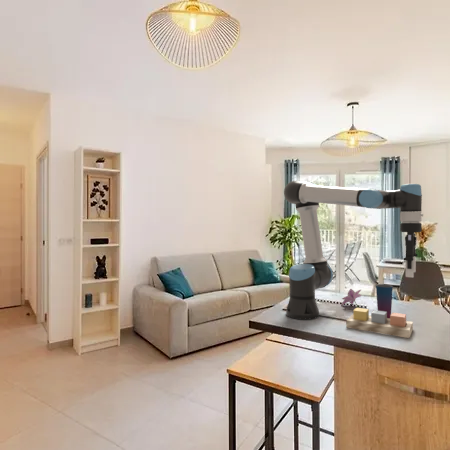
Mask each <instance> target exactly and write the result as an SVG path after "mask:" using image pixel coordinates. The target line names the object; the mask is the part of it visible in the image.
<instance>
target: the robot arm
mask: <svg viewBox="0 0 450 450" xmlns="http://www.w3.org/2000/svg"><path fill="white" fill-rule="evenodd" d="M399 187H400V188H399V189H395V190H381V189H376V188H361V187H359V188H358V187H342V186H327V185H325V186H324V185H317V184H316V183H314V182H312V181H303V180H302V181H301V180H292V181H289V182H288V183H287V184H286V185H285V187H284V190H283V194H284V195H283V196H284V198H285V200H286V201H287V203H290V204H293V205H295V210H296V211H297V212H298V213H299V220H300V226H301V233H302V241H303V248H304V255H305V260H304V261H303V262H302V263H300V264H294V265H292V266H291V267H290V268H289V272H288V273H289V274H288V277H289V278H288V281H289V300H288V302H287V306H286V310H285V315H286V316H287V317H289V318H291V319H296V320H303V321H304V320H315V319H317V318H319V316H320V311H319V307H318V304H317V301H316V290H318V289H322V288H325V287H326V286H327V287H328V285H330V284H331V282H332V280H333V277H334V276H333V275H334V273H333V269H332V267H330V266H329V264H328V261H327V258H325V257H324V254H323V247H322V239H321V233H320V232H321V231H320V225H319V219H318V209H319V207H320V204H330V205H337V206H338V205H341V206H349V207H360V208H366V209H376V210H381V209H399V211H400V212H399V214H400V216H399V218H400V219H399V221H400V222H401V223H400V226H399V227H400V229H399V231H400V232H401V233H406V235H405V237H404V241H405V243H404V245H405V257H403V261H405V278H414V277H415V273H416V272H417V271H416V269H417V266H416V265H417V264H416V263H417V262H416V261H417V260H416V258H417V257H418V254H417V252H416V247H417V242H418V241H417V239H418V238H417V236H416V233H421V232H422V231H423V230H422V228H423V227H422V226H423V225H422V223H421V222H422V217H424V213H422V203H423V202H422V200H423V199H422V197H423V194H422V186H421V184H419V183H406V184H405V183H404V184H401V185H400V186H399Z"/></svg>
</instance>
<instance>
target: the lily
mask: <svg viewBox="0 0 450 450" xmlns="http://www.w3.org/2000/svg"><path fill="white" fill-rule="evenodd" d="M361 291H362V289H359V290H357V291H356V292H355V290H354V289H353V288H350V289H349V290H348V292H347V296H343V297H342V298H341V299H342V300H343V301H342V303H341V305H340V306H343V305H345V304H347V303H349V304H350V305H353V304H354V303H355V305H356V308H359V306H358V304H357V302H356V299H358V298H361V297H362V294H361V293H360V292H361Z"/></svg>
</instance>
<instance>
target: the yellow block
mask: <svg viewBox="0 0 450 450" xmlns="http://www.w3.org/2000/svg"><path fill="white" fill-rule="evenodd" d="M369 310H370V309H368V308H361V307H356V308H354V309H353V310H352V311H353V317H354V319H356V320H363V321H367V320H368V319H369V316H370V313H369V312H370V311H369Z"/></svg>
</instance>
